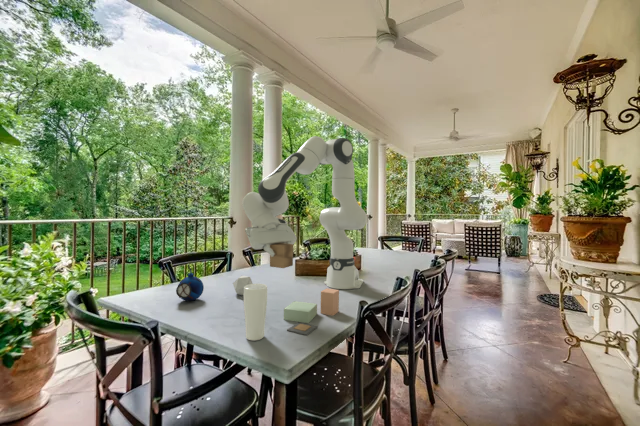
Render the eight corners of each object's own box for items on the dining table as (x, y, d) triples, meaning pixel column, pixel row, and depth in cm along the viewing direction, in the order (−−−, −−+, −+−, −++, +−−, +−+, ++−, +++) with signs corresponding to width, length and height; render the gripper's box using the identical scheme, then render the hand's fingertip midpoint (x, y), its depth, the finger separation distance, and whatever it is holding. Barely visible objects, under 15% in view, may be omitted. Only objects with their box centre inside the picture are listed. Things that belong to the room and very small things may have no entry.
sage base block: (293, 311, 109) (294, 301, 109) (316, 314, 106) (317, 303, 106) (283, 320, 101) (283, 308, 101) (308, 323, 98) (308, 312, 98)
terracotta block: (326, 309, 112) (326, 288, 112) (338, 311, 109) (339, 290, 109) (320, 313, 107) (320, 291, 107) (333, 315, 105) (333, 293, 105)
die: (257, 295, 131) (254, 275, 136) (250, 290, 123) (246, 269, 128) (240, 301, 131) (237, 281, 136) (231, 296, 124) (228, 275, 129)
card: (298, 323, 97) (298, 321, 97) (317, 327, 94) (317, 325, 94) (286, 330, 91) (287, 328, 91) (306, 335, 88) (306, 333, 88)
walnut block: (279, 263, 113) (279, 243, 113) (292, 265, 110) (292, 244, 110) (269, 266, 108) (270, 244, 108) (283, 268, 105) (283, 245, 105)
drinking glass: (270, 338, 85) (271, 287, 85) (248, 344, 81) (249, 290, 81) (261, 330, 91) (261, 282, 91) (239, 336, 87) (240, 285, 87)
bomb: (170, 304, 114) (170, 266, 114) (185, 296, 125) (185, 261, 125) (195, 305, 113) (195, 266, 113) (207, 297, 124) (207, 261, 124)
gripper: (247, 221, 105) (264, 252, 99) (289, 220, 121) (306, 246, 115) (239, 233, 108) (255, 263, 102) (281, 230, 124) (297, 256, 118)
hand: (282, 254), depth 108 cm, fingers closed on walnut block, 7 cm apart
